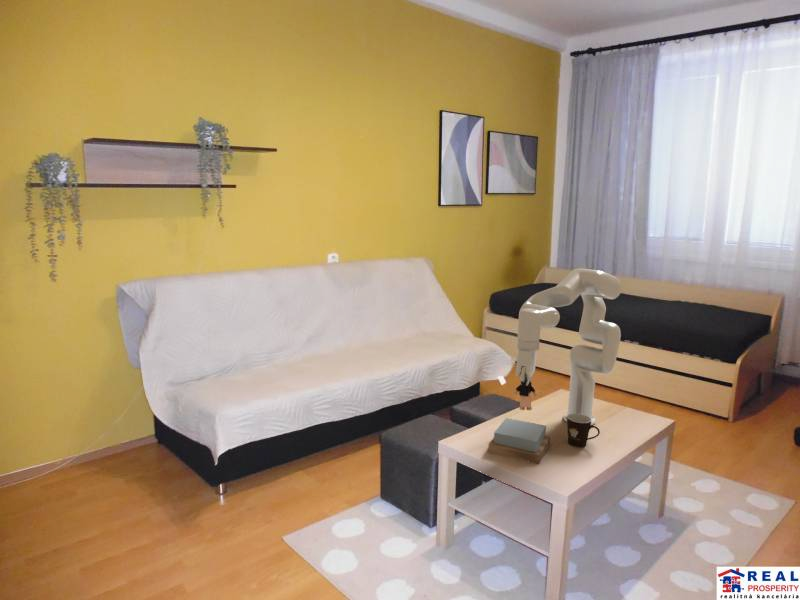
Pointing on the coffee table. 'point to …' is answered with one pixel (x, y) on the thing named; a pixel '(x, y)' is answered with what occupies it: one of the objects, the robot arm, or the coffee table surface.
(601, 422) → the coffee table surface
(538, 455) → the tower base block
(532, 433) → the tower top block
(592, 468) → the coffee table surface
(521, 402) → the grandmother figurine
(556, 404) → the coffee table surface
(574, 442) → the coffee mug
